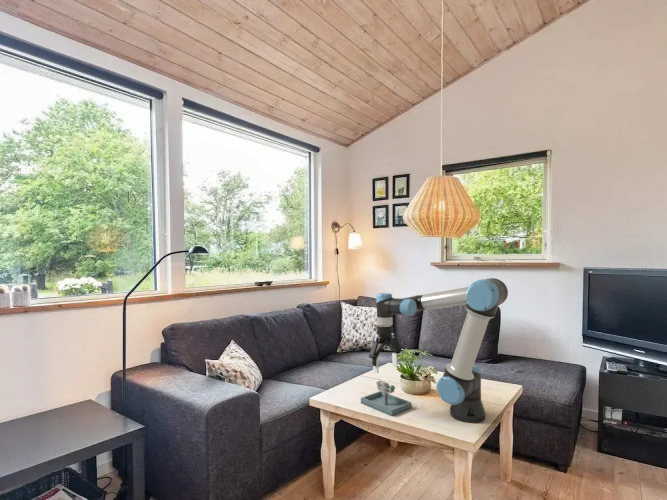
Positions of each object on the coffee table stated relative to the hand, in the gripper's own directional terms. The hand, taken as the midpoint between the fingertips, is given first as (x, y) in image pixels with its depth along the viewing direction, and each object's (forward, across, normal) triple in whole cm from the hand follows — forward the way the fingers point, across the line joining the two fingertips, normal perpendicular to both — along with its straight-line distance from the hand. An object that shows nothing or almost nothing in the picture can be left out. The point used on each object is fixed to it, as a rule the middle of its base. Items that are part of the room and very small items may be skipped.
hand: (385, 369), depth 185 cm
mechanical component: (+17, 0, 0) cm, 17 cm away
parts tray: (+17, 0, 0) cm, 17 cm away
